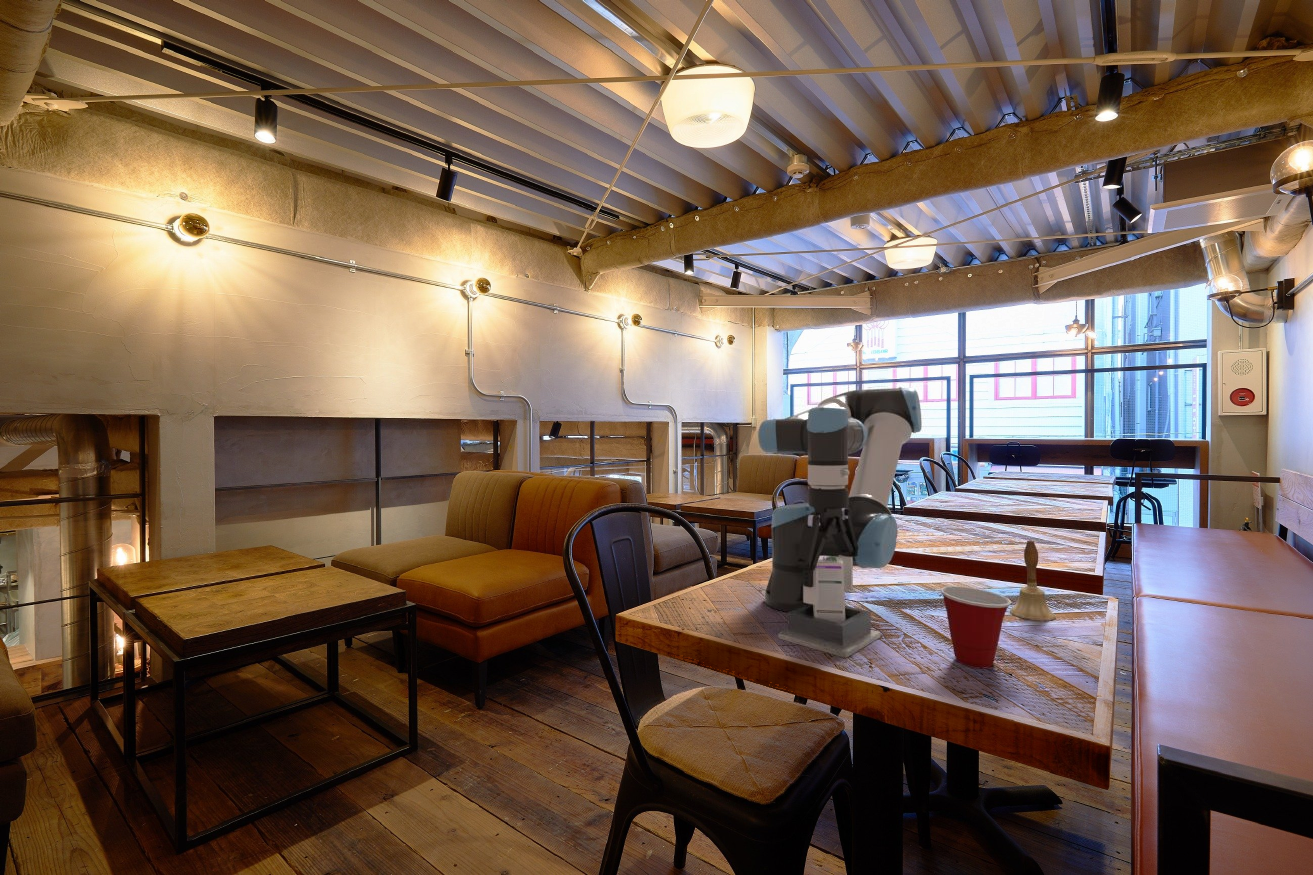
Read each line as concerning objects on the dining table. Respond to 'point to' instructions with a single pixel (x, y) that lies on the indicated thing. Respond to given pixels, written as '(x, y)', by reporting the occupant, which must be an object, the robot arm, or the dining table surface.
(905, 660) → the dining table surface
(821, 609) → the syrup box
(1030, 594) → the hand bell
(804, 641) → the grey shallow open box
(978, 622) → the plastic cup
